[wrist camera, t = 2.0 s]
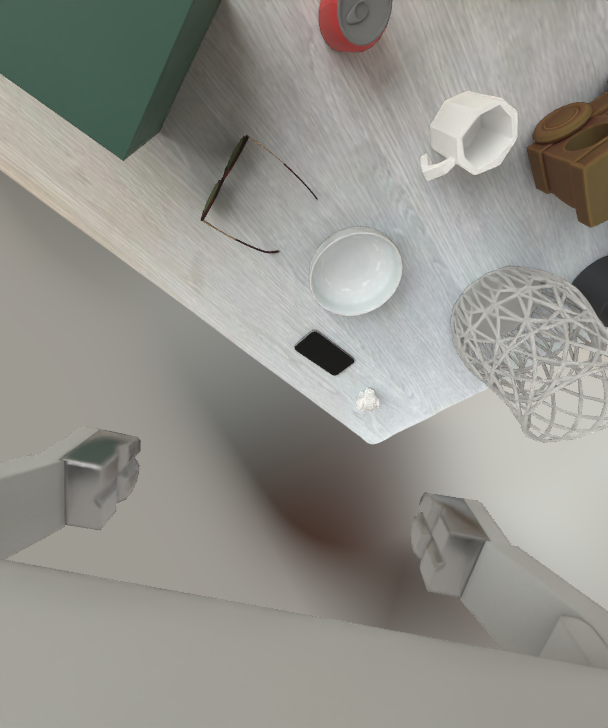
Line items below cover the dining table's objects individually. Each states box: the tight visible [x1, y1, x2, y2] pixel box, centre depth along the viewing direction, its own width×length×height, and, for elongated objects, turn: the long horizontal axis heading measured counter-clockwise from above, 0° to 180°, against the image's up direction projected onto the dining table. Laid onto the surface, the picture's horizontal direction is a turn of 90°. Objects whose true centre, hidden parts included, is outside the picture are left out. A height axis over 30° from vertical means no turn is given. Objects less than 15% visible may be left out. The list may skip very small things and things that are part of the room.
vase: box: [450, 266, 608, 443], centre depth 65 cm, size 24×24×30 cm
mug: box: [420, 91, 518, 181], centre depth 48 cm, size 12×9×10 cm
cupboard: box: [0, 0, 221, 161], centre depth 35 cm, size 12×18×17 cm, turn 139°
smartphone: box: [295, 330, 354, 375], centre depth 81 cm, size 7×1×15 cm
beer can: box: [319, 0, 392, 52], centre depth 38 cm, size 7×7×12 cm
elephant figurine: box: [355, 388, 380, 411], centre depth 91 cm, size 7×8×6 cm
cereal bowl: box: [309, 226, 403, 316], centre depth 62 cm, size 17×17×7 cm
